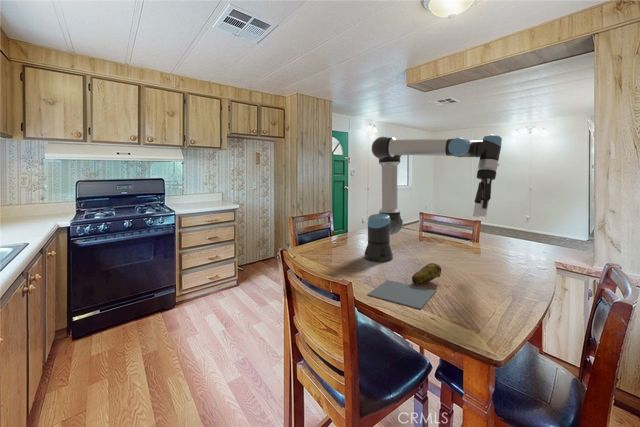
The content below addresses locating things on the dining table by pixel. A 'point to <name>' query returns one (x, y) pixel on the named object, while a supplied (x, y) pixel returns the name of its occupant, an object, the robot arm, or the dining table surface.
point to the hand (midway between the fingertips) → (478, 216)
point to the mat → (402, 294)
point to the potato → (427, 274)
